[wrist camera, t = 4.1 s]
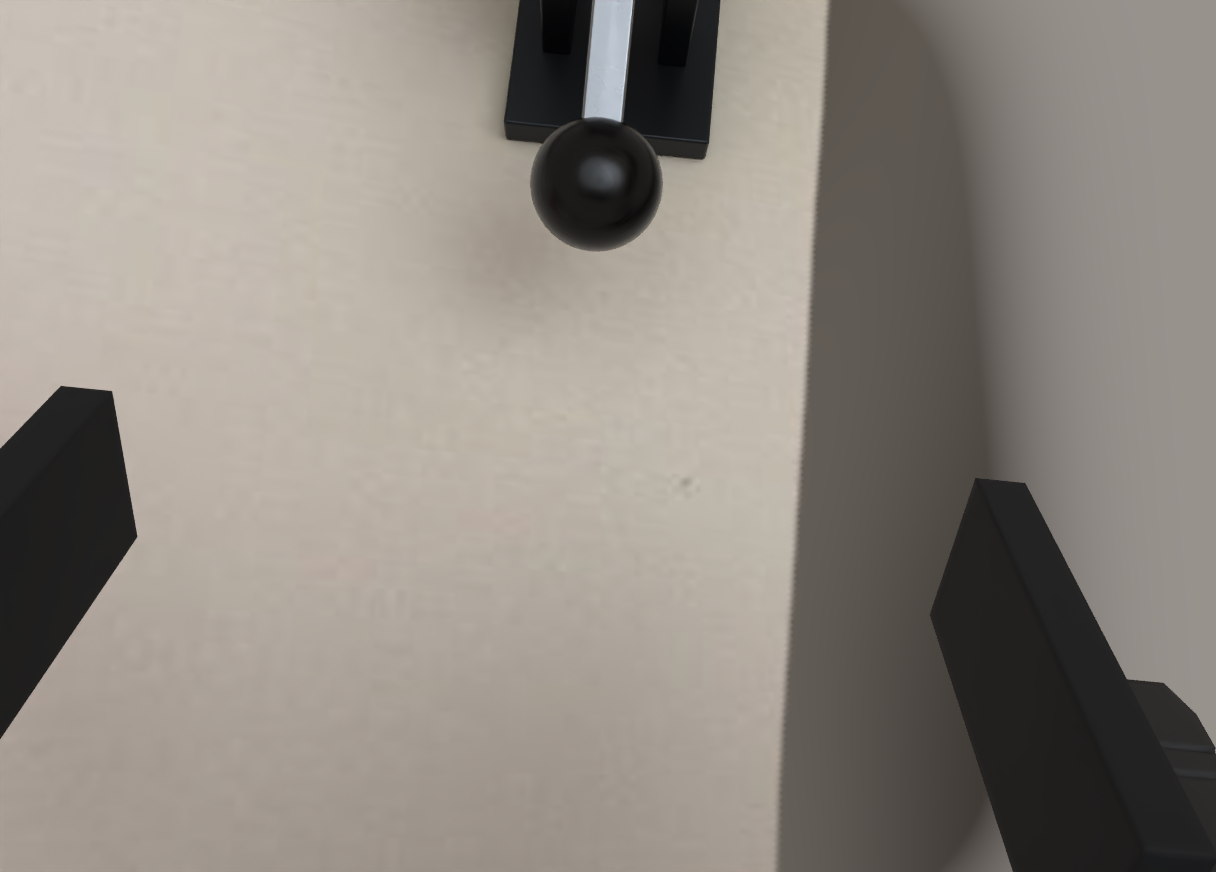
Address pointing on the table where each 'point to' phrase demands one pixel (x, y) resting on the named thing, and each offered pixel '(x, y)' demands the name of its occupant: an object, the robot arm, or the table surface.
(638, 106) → the switch bracket
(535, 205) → the lever
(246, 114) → the table surface
